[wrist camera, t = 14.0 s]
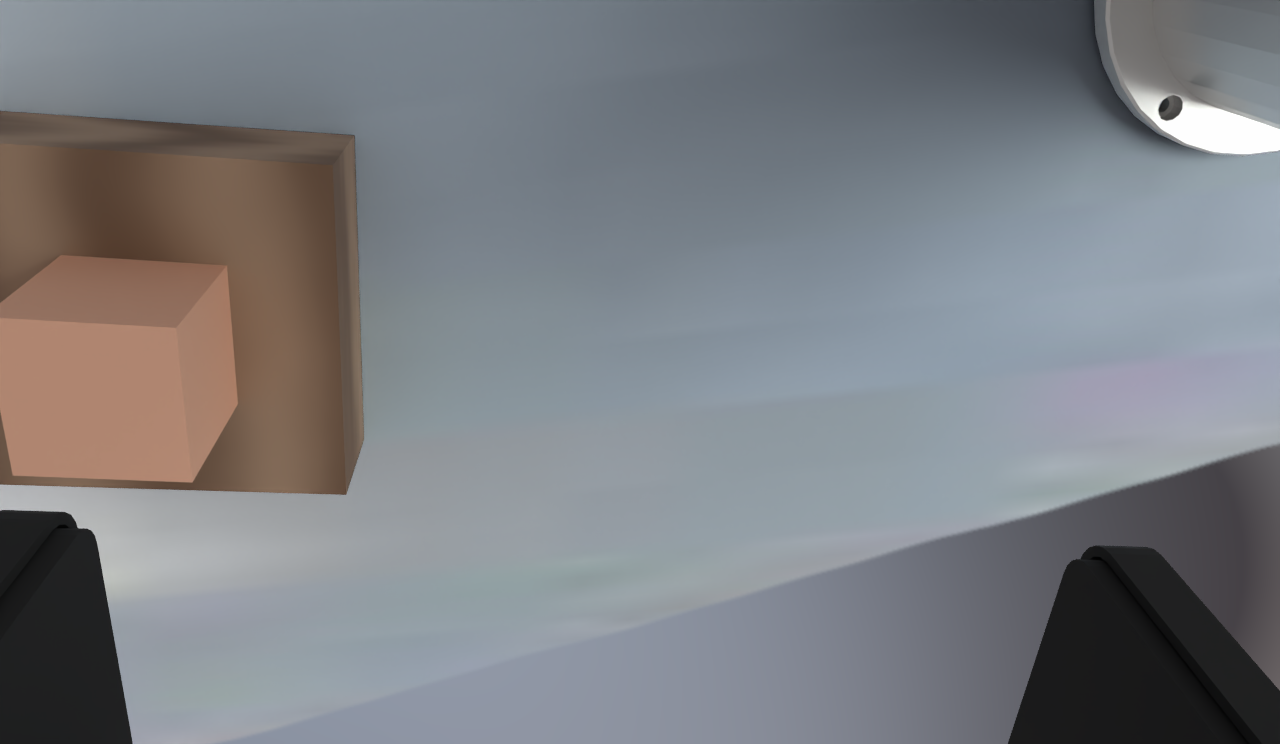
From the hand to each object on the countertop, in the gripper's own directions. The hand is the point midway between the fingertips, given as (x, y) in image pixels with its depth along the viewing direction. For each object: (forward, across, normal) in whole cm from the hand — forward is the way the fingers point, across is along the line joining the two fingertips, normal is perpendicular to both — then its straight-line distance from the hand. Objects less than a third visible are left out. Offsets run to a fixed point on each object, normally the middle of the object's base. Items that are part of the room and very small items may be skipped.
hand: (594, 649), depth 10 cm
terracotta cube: (+24, +13, +8) cm, 28 cm away
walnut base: (+28, +13, +8) cm, 32 cm away
